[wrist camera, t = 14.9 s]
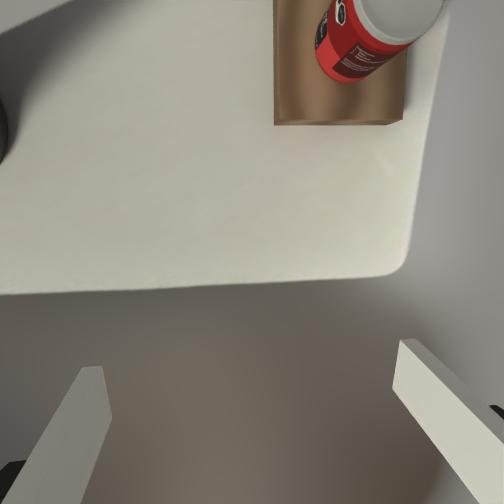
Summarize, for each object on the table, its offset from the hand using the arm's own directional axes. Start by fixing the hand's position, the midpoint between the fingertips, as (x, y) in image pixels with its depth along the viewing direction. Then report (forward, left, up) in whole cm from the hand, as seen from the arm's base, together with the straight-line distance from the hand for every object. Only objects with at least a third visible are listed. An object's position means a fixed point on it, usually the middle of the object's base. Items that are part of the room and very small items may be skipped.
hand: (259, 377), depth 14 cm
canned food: (+14, +24, -25) cm, 37 cm away
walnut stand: (+14, +24, -29) cm, 39 cm away
